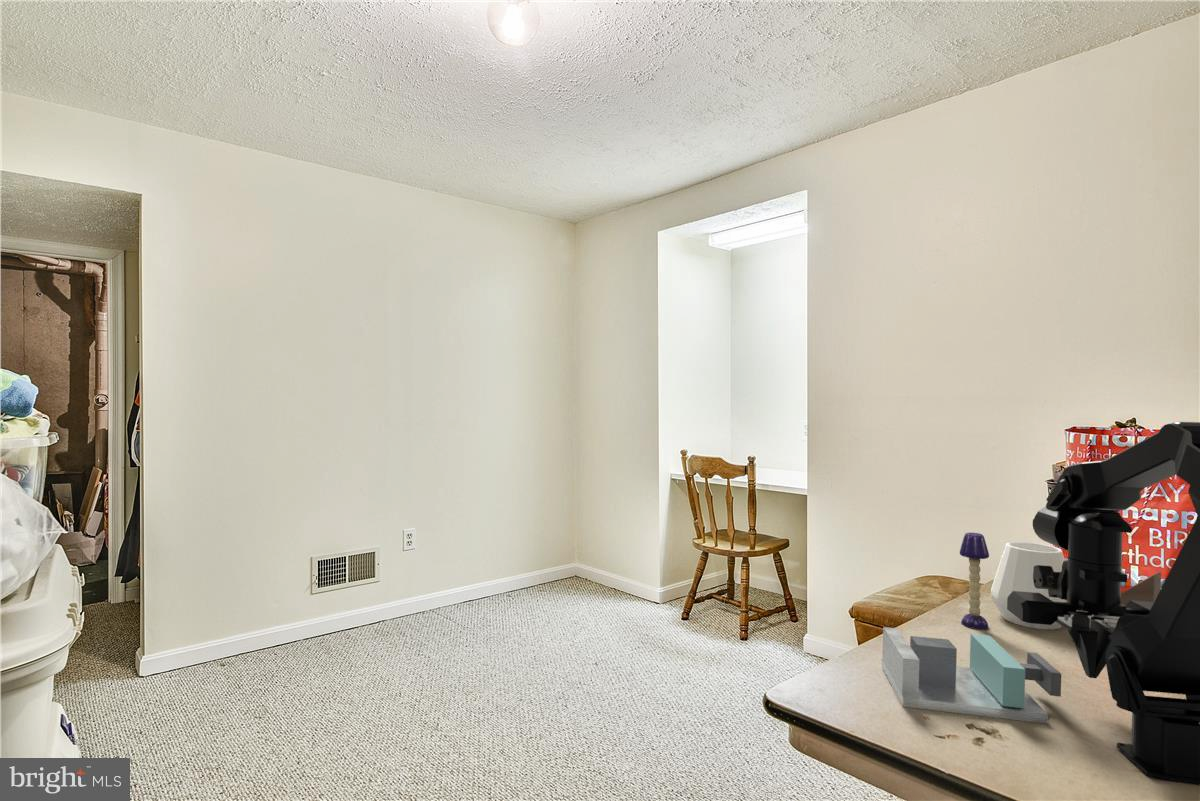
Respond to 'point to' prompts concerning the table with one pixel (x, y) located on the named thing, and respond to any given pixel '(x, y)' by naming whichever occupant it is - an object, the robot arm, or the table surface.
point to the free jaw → (1010, 671)
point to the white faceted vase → (1024, 576)
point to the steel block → (935, 661)
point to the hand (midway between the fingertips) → (1091, 676)
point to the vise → (963, 699)
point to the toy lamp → (974, 577)
